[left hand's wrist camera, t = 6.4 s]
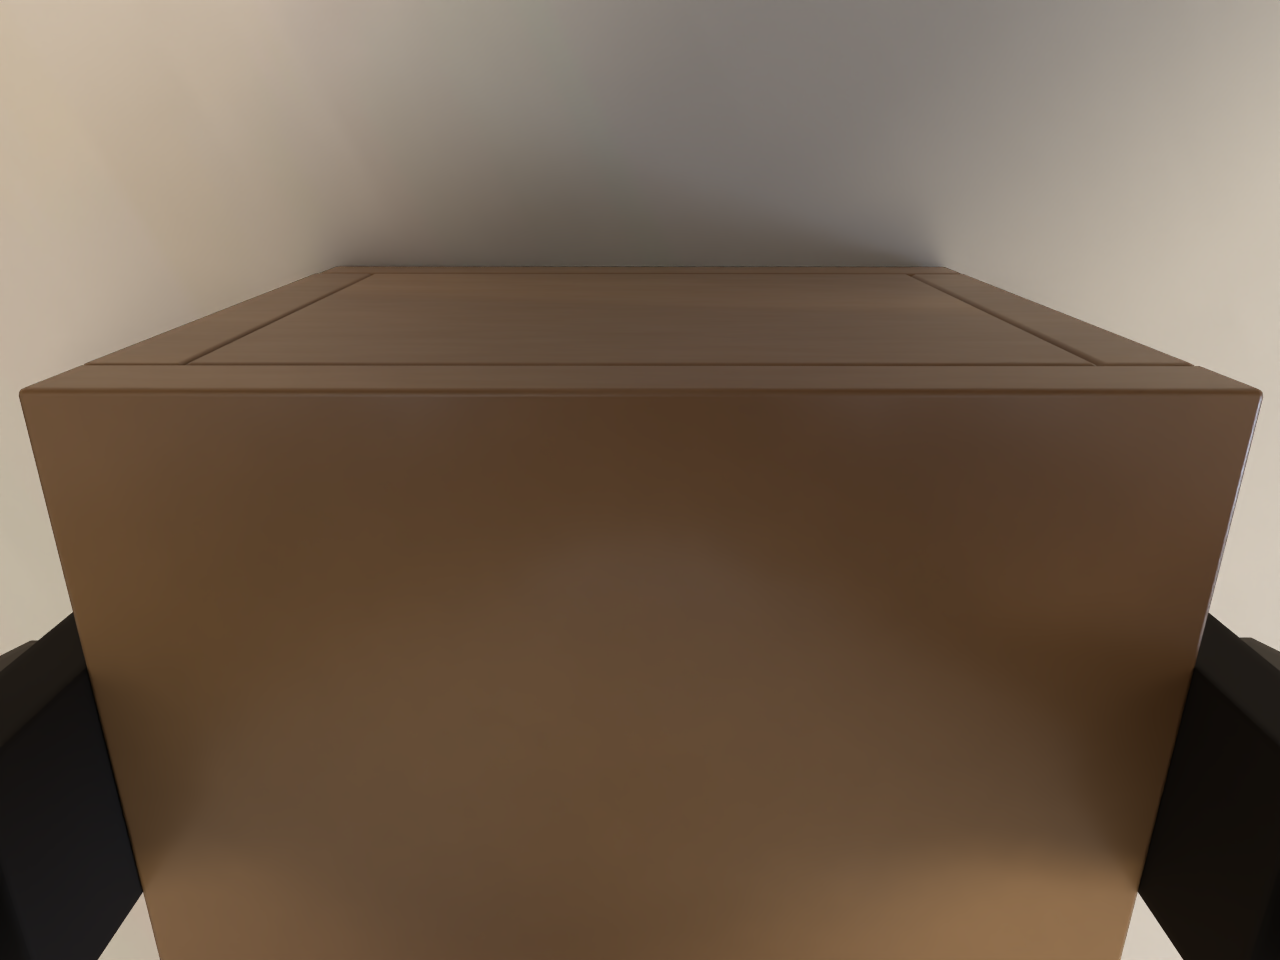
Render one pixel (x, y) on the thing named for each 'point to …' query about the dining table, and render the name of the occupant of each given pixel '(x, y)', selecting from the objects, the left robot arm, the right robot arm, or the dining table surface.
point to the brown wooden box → (640, 612)
